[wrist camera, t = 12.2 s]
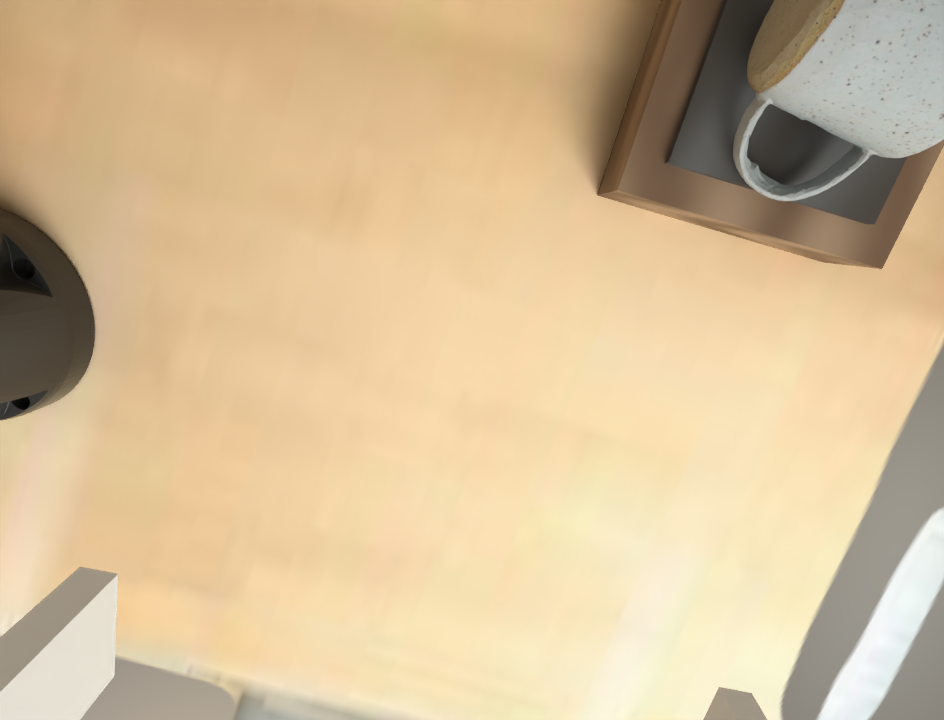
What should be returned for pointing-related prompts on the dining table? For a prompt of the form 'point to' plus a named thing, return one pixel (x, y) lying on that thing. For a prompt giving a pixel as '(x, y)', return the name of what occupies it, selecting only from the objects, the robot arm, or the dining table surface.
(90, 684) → the robot arm
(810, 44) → the ceramic mug
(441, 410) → the dining table surface
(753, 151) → the walnut base
